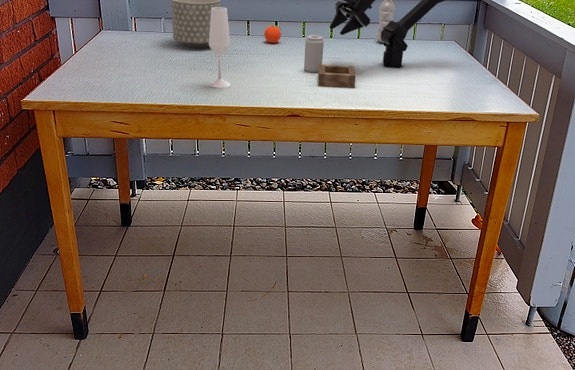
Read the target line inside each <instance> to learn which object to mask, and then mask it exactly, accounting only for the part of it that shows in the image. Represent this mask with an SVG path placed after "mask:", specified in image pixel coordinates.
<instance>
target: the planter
mask: <svg viewBox="0 0 575 370" xmlns="http://www.w3.org/2000/svg"><path fill="white" fill-rule="evenodd" d="M170 2H171V21H172V38H173V39H174V40H175V41H176V42H180V43H181V44H183V45H185V46H187V47H189V48H197V49H198V48H205V47H208V46H209V34H210V20H211V8H213V7H222V6H221V5H222V4H221V0H170Z"/></svg>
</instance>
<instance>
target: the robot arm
mask: <svg viewBox="0 0 575 370" xmlns="http://www.w3.org/2000/svg"><path fill="white" fill-rule="evenodd" d="M375 1H377V0H339V1H337V2H336V4H334V6H335V8H334V9H335V15H334V16H333V19H332V21H331V23H330V25H329V29H330V30H333V29H335V28H337V27H339V26H340V25H342V24H343V23H345V22H346V24H345V25H344V26H343V28H342V29H341V31H340V32H339V34H340V36H343V35H345V34H348V33H350V32H353V31H356V30H359V29H361V28H362V29H363V28H364V27H365V28H367V27H368V26H369V24H370V22H371V18H370V17H369V16H368V15H367V13H366V11H367V10H371V9H372V8H373V6H372V5H373V4H374V3H375ZM445 1H446V0H420V1H419V2H418V3H417V4H416V5H415V6H414V7H413V8H412V9H410V11H409V12H407V13H406V14H405V15H404V16H403V17H402V18H401V19H400V20H399V21H394V20H393V21H390V22H389V23H388V25H387V26H385V27H383V28H384V29H383V30H382V32H381V40H382V41H383V43H382V44H383V46H384V47H385V50H384V51H383V55H382V63H383V64H384V67H391V68H403V64H402V63H403V57H404V52H406V51H407V48H408V46H409V45H408V44H407V43H406V41H405V39H406V37H407V34H408V32H409V31H410V29H411V28H413V26H415V25H416V24H417V23H418V22H420V20H422V18H423V17H425V16H426V15H427V14H428V13H429V12H430V11H431V10H432V9H433V8H434V7H435V6H437V4H440V3H442V2H445Z"/></svg>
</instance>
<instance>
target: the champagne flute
mask: <svg viewBox="0 0 575 370" xmlns="http://www.w3.org/2000/svg"><path fill="white" fill-rule="evenodd" d="M208 46H209V48H210V50H211V51H212V52H214V54H215V55H217V75H218V76H217V79H215V80H213V81H211V82H210V83H209V86H211V87H212V88H213V87H214V88H227V87H229V86H231V83H230V82H229V81H226V80H224V79H223V76H222V75H223V74H222V73H223V70H222V69H223V68H222V67H223V64H222V59H223V58H222V57H223V56H222V55H224V54H225V53H226V52H227V51H228V50H229V48H230V46H231V39H230V26H229V19H228V8H227V7H223V6H221V7H213V8H211V20H210V34H209V45H208Z"/></svg>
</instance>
